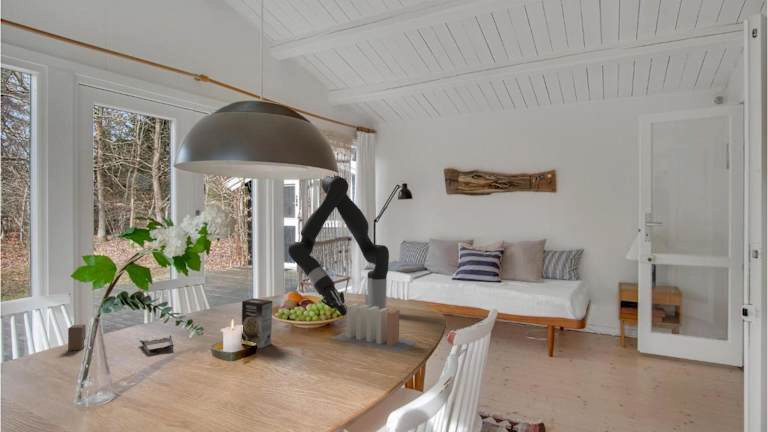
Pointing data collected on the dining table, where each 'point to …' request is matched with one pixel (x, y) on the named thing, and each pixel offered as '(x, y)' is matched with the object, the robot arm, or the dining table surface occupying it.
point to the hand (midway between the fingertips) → (345, 314)
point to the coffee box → (257, 321)
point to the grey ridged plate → (397, 347)
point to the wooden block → (76, 337)
